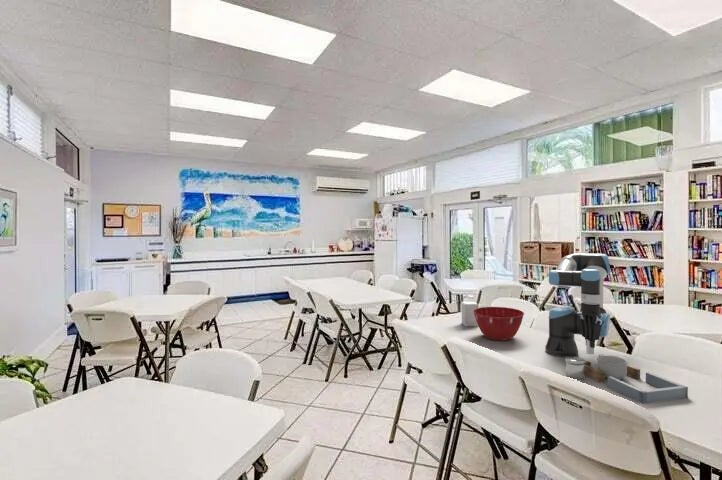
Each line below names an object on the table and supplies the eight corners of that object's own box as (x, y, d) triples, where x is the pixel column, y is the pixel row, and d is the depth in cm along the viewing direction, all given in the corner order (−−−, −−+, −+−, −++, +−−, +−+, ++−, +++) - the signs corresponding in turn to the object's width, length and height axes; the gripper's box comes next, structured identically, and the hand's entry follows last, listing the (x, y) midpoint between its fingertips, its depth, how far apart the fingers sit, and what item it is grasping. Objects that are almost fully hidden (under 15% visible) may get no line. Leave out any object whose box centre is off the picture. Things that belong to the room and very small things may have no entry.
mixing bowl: (493, 346, 209) (493, 318, 209) (463, 333, 236) (463, 308, 236) (535, 341, 218) (535, 314, 217) (502, 329, 245) (501, 305, 245)
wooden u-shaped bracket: (576, 370, 173) (576, 362, 172) (612, 367, 176) (612, 358, 176) (601, 383, 159) (601, 373, 159) (640, 378, 163) (640, 369, 163)
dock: (607, 386, 155) (607, 376, 155) (648, 381, 159) (648, 372, 159) (643, 403, 140) (643, 392, 140) (687, 397, 144) (687, 387, 144)
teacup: (632, 383, 158) (632, 364, 158) (603, 381, 160) (603, 362, 160) (616, 370, 172) (616, 353, 172) (590, 369, 174) (590, 352, 174)
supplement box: (478, 326, 252) (478, 303, 252) (464, 326, 252) (464, 304, 252) (474, 323, 261) (474, 301, 261) (461, 323, 262) (461, 301, 261)
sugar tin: (561, 375, 168) (561, 357, 168) (575, 373, 169) (575, 356, 169) (573, 381, 161) (573, 363, 160) (589, 380, 162) (589, 362, 162)
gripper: (572, 300, 182) (572, 350, 182) (594, 305, 169) (594, 359, 169) (586, 300, 183) (586, 349, 184) (609, 305, 170) (608, 357, 171)
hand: (590, 353), depth 177 cm, fingers closed
